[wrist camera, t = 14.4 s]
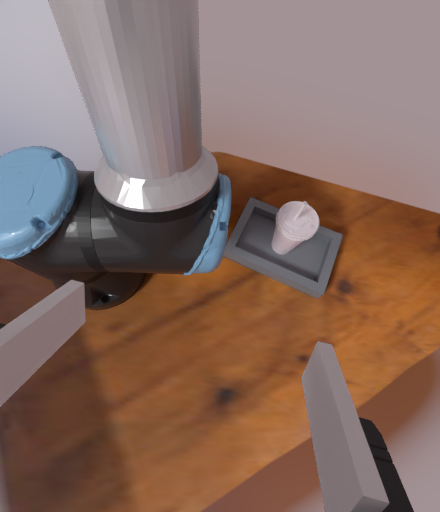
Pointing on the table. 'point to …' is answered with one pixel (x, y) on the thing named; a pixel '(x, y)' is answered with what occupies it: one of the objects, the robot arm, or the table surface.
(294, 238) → the smoothie
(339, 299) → the table surface
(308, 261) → the tray
